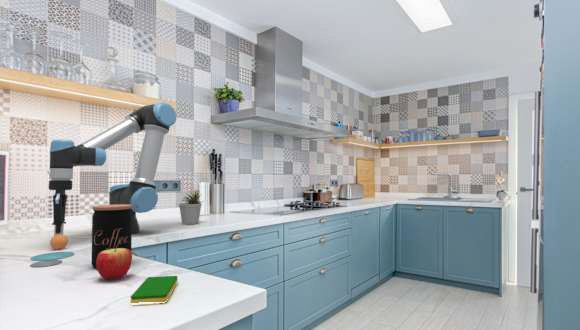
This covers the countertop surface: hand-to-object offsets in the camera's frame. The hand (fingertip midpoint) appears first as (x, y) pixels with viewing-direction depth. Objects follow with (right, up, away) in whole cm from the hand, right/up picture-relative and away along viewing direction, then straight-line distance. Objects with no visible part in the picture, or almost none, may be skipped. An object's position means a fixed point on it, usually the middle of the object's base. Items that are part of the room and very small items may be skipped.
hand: (58, 241), depth 126 cm
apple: (+42, -1, -39) cm, 58 cm away
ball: (+2, 0, -3) cm, 4 cm away
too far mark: (+13, -1, -24) cm, 27 cm away
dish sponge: (+58, -1, -51) cm, 77 cm away
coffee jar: (+35, -1, -26) cm, 43 cm away
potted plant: (+32, -5, +64) cm, 72 cm away
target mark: (+8, -2, -14) cm, 16 cm away
